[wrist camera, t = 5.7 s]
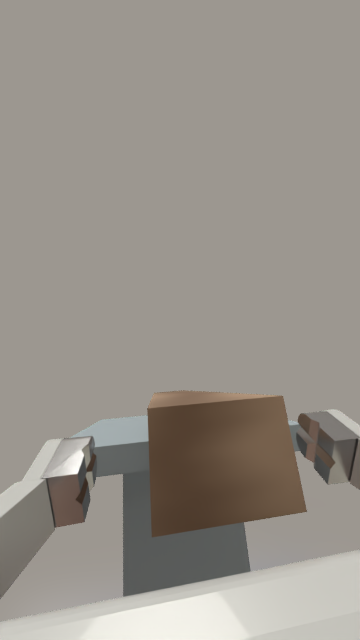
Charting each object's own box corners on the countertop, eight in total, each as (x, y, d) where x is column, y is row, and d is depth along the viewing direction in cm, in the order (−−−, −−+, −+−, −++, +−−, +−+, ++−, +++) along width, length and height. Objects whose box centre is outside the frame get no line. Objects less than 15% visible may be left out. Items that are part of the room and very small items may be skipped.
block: (151, 537, 5) (147, 408, 5) (155, 415, 25) (154, 393, 26) (306, 511, 5) (282, 395, 6) (184, 412, 26) (183, 390, 27)
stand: (-87, 1834, 5) (42, 452, 12) (93, 763, 18) (101, 419, 26) (514, 1357, 7) (304, 423, 14) (275, 711, 20) (232, 407, 28)
